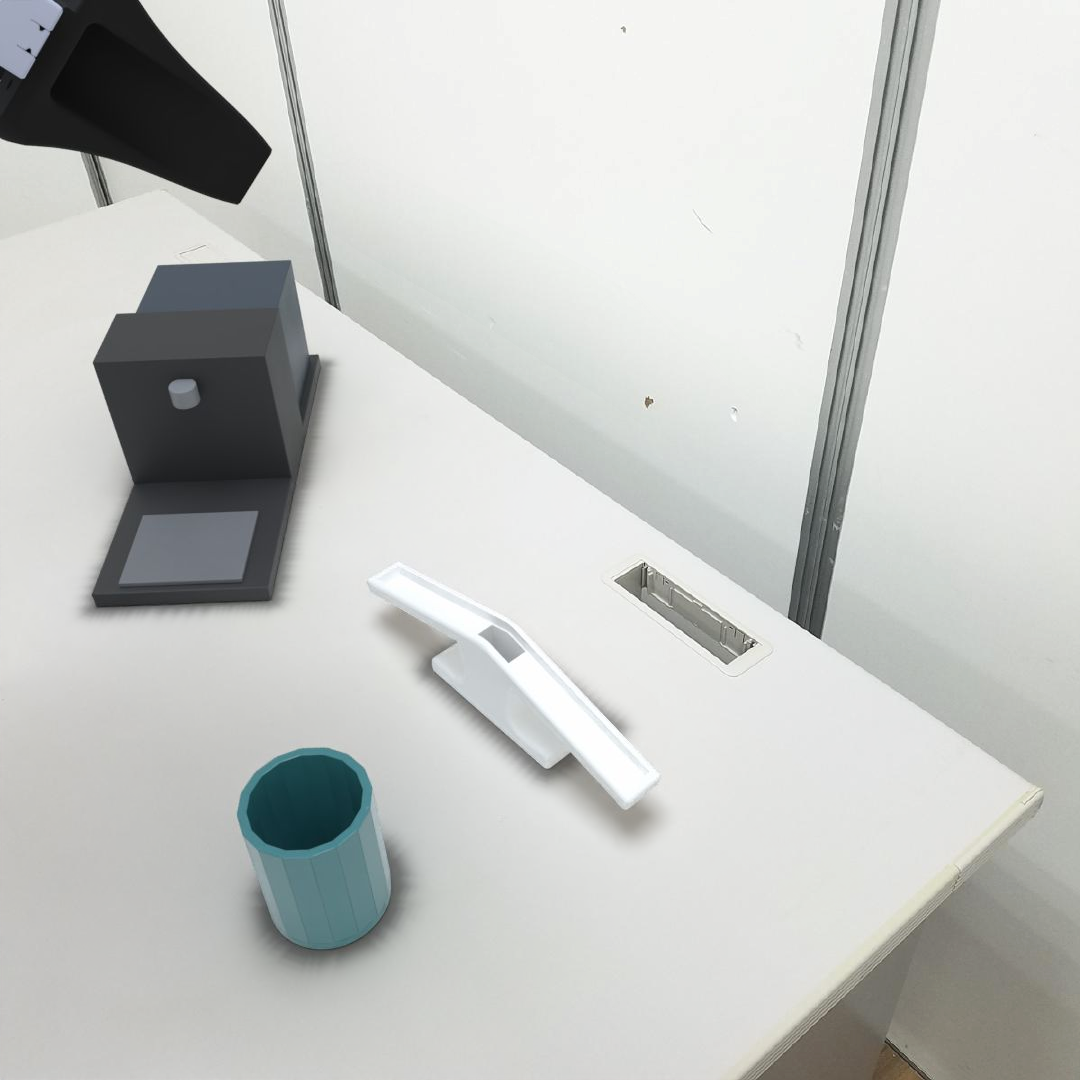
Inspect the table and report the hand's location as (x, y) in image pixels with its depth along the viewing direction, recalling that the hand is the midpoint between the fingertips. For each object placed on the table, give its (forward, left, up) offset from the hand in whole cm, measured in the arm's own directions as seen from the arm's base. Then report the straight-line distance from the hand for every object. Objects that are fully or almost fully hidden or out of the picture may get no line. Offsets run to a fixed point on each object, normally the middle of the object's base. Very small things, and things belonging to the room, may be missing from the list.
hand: (220, 146), depth 38 cm
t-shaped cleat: (+8, -2, -30) cm, 32 cm away
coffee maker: (-1, +24, -30) cm, 38 cm away
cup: (-4, -9, -30) cm, 32 cm away
